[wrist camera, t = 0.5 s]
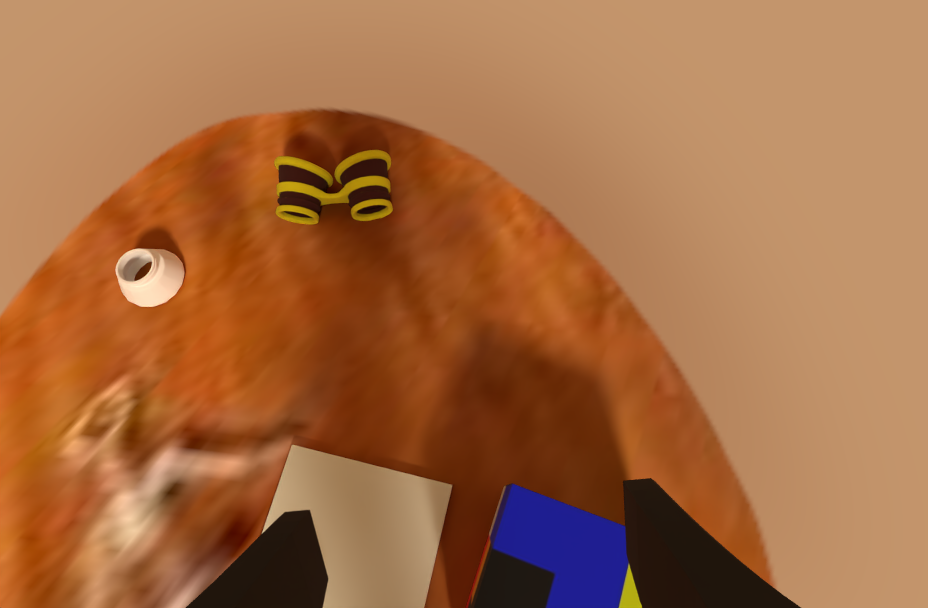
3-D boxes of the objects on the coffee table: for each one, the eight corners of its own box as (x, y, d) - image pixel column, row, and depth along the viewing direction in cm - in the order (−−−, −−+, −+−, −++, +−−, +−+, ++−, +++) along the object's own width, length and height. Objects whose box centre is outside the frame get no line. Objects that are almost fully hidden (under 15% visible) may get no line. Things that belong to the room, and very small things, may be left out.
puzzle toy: (504, 486, 37) (512, 483, 27) (642, 538, 35) (701, 555, 26) (455, 639, 34) (446, 695, 24) (605, 703, 32) (657, 789, 23)
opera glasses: (287, 231, 45) (264, 212, 40) (286, 174, 46) (264, 149, 41) (397, 224, 45) (388, 204, 40) (395, 167, 46) (385, 141, 41)
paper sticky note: (411, 661, 33) (410, 664, 33) (238, 611, 34) (234, 612, 34) (452, 485, 37) (452, 484, 36) (294, 445, 38) (291, 444, 38)
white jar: (198, 266, 44) (150, 245, 44) (179, 250, 41) (128, 228, 42) (163, 317, 42) (114, 294, 43) (141, 305, 39) (89, 281, 40)
